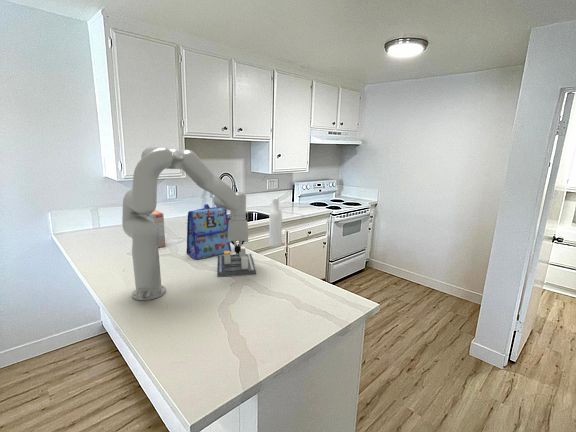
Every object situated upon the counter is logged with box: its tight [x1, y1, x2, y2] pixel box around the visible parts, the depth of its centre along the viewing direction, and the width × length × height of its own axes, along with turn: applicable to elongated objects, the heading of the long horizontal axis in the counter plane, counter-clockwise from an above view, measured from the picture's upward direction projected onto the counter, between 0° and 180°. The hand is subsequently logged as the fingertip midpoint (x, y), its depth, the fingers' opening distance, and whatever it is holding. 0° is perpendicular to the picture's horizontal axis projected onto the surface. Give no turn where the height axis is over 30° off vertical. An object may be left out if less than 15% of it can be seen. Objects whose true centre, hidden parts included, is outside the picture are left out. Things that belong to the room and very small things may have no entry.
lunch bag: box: [185, 203, 232, 261], centre depth 171 cm, size 22×14×29 cm, turn 129°
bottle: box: [268, 196, 283, 248], centre depth 186 cm, size 8×8×30 cm
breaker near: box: [241, 256, 248, 269], centre depth 147 cm, size 4×3×5 cm
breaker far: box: [239, 245, 247, 258], centre depth 162 cm, size 4×3×5 cm
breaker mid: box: [223, 251, 231, 264], centre depth 153 cm, size 4×3×6 cm
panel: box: [216, 253, 257, 278], centre depth 154 cm, size 24×18×2 cm
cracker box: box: [147, 209, 166, 249], centre depth 186 cm, size 14×6×21 cm, turn 41°
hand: (237, 253), depth 153 cm, fingers closed
